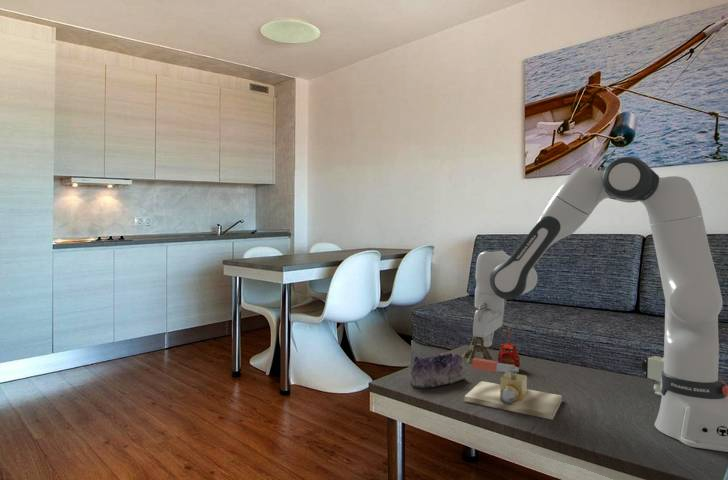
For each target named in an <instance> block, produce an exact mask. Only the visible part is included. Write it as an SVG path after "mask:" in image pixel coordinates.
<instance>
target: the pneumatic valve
mask: <svg viewBox="0 0 728 480" xmlns="http://www.w3.org/2000/svg"><path fill="white" fill-rule="evenodd" d="M640 365H641V366H640V368H641V372H643V373H644V375H645V376H644V377H645V378H647V379H650V380H655V381H657V383H654V384H653V391H654V394H655V395H656V396H659V397H662V393H661V374H662V371H663V370H664V355H663V357H661V356H657V355H651V356H645V358H644V359H642V362H641V364H640Z"/></svg>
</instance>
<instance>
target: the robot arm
mask: <svg viewBox="0 0 728 480" xmlns="http://www.w3.org/2000/svg"><path fill="white" fill-rule="evenodd" d="M605 199H611V200H615V201H619V202H622V203H637V202H641V203H642V204H643V206H644V207H645V208H646V209H645V210H646V212H647V215H648V220H649V226H650V231H651V234H652V235H651V237H652V239H653V245H654V249H655V250H654V251H655V254H656V259H657V264H658V265H657V266H658V270H659V271H658V272H659V275H660V280H661V285H662V290H663V295H664V303H665V307H664V311H665V312H664V337H663V338H664V339H663V342H664V344H663V345H664V346H663V356H664V370H663V371H662V374H661V382H660V383H661V393H662V396H661V400H660V405H659V409H658V414H657V417H656V419H655V422H654V427H655V428H656V430H658V431H659V432H661V433H662V434H664V435H666V436H668V437H670V438H673V439H675V440H678V441H679V442H681V443H682V444H684V445H686V446H687V447H692V448H697V449H703V450H704V449H705V450H710V451H711V450H712V451H717V452H718V451H719V452H725V453H728V383H726V382H725V380H723V379H720V378H719V360H720V359H719V358H720V354H719V353H720V343H719V340H720V339H719V314H721V311H722V309H723V304H724V301H723V297H722V292H721V288H720V283H719V280H718V275H717V272H716V268H715V263H714V260H713V256H712V252H711V248H710V244H709V240H708V235H707V231H706V230H707V229H706V225H705V222H704V221H705V220H704V217H703V212H702V208H701V204H700V202H699V199H698V197H697V194H696V191H695V190H694V187H693V185H692V184H691V182H690V181H689V180H688V179H687V178H686V177H682V176H678V175H677V176H676V175H675V176H674V175H673V176H672V175H671V176H665V177H659V175H658V173H656V172H655V171H654V170H653V168H651V167H650V166H649V165H648V164H647V163H646V162H645V161H643V160H642V159H640V158H637V157H634V156H622V157H619V158H616V159H614V160H612V161H611V162H610V163H609V164H607V166H606V167H605V169H604V171H603V170H599V169H597V168H594V167H593V166H592V167H591V166H579V167H577V168H576V169H575V170H573V171H572V172H571V173H570V174H569V176H568V177H566V178H565V180H563V182H562V183H561V184H560V186H558V188H557V189H556V190H555V192H554V194H552V196H551V198H550V199H549V201H548V202H547V204H546V206H545V207H544V209H543V210H542V213H540V216H539V218H538V219H537V220H536V222H535V224H534V225H533V228H532V229H531V230H530V231H529V233H528V234H527V235H526V237H525V238H524V239H523V241H522V242H521V243H520V245H519V246H518V247H517V248H516V249H515V251H514V252H513V254H512V255H509V254H507V253H506V252H505V251H504V250H502V249H492V250H484V251H481V252H480V253H479V254H478V256H477V259H476V264H475V275H474V276H475V282H476V283H475V284H476V287H475V289H474V307H477V308H479V310H477V308H476V310H475V312H474V317H473V327H472V335H473V334H474V336H476V337H483V340H484V346H485V347H487V348H489V347H491V346H492V345H493V338H494V335H495V331H496V330H498V329H500V328H501V327H503V323H504V315H505V306H506V305H507V300H508V301H510V300H515V299H516V298H517V299H518V298H519V297H520V296H522V295H525V294H527V293H530V292H531V291H532V290H533V289H535V288H536V286H537V284H538V281H539V280H538V279H539V274H538V273H537V270H536V268H535V267H534V266H535V265H536V264H537V262H538V261H539V260H540V259H541V258H542V256H543V255H544V254H545V252H546V251H547V250H548V249H549V248H550V247H551V246H553V245H554V244H555V243H557V242H558V241H560V240H562V239H564V238H567V237H569V236H571V235H572V234H573V233H575V232H577V230H578V229H580V227H581V226H582V225H583V224H585V222H586V221H587V220H588V218H590V215H591V214H592V212H593V211H594V210H595V208H596V207H597V206H598V205H599V204H600V203H601V202H602V201H604V200H605Z"/></svg>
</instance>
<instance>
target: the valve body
mask: <svg viewBox="0 0 728 480" xmlns="http://www.w3.org/2000/svg"><path fill="white" fill-rule="evenodd" d="M499 383H500V399H501V401H502V402H503V403H504V404H506V405H510V404H511V403H512V402H516V400H517V401H522V400H523V399H524V397H525V396H526V395H527V387H528V386H527V385H528V375H524V374H519V373H517V376H516V377H513V376H511V373H507V372H504V374H503V375H501V377H500V382H499Z"/></svg>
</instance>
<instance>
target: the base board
mask: <svg viewBox="0 0 728 480" xmlns="http://www.w3.org/2000/svg"><path fill="white" fill-rule="evenodd" d="M463 399H464V400H463V401H464V402H466V403H471V404H476V405H481V406H485V407H488V408H489V407H490V408H495V409H500V410H505V411H509V412H514V413H519V414H524V415H529V416H534V417H538V418H543V419H549V420H552V421H553V420H554V418H555V416H556V414H557V411H558V410H559V408H560V406H561V404H562V401H563V395H560V394H554V393H551V392H545V391H544V392H543V391H540V390H539V391H538V390H533V389H527V395H526V396H525V397H524V399H523V400H522V401H517V400H516V402H512V403H511V404H510V405H506V404H504V403H503V402H502V401H501V399H500V384H499V383H494V382H488V381H483V380H480V381H479V382H478V383H477V384H476V385H475V386H474V387H473V388H471V390H470V391H469V392H468V393H466V394H465V395H464V398H463Z"/></svg>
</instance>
